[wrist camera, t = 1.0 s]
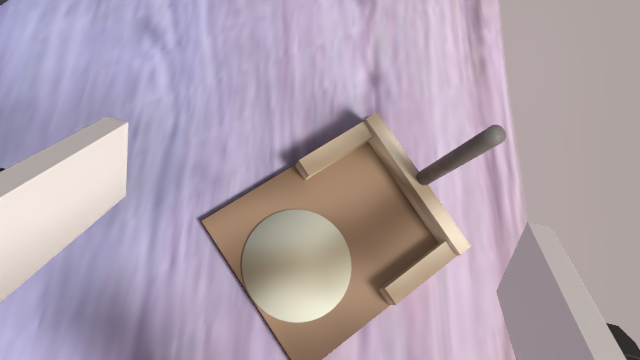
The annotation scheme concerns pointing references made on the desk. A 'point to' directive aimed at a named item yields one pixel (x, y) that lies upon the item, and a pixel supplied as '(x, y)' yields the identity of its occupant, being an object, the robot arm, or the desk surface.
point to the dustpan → (341, 235)
